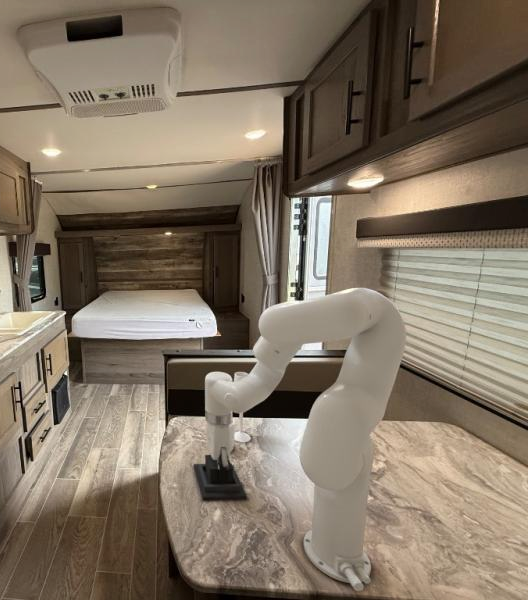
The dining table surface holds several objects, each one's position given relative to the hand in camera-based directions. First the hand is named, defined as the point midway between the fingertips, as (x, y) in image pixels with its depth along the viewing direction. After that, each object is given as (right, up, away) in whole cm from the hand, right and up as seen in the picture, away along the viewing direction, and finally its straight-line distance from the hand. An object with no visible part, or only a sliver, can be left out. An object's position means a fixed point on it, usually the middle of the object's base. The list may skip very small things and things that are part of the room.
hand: (218, 471), depth 96 cm
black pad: (0, -1, 0) cm, 1 cm away
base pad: (0, -3, +1) cm, 3 cm away
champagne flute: (+15, 0, +23) cm, 27 cm away
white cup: (+6, -1, +17) cm, 18 cm away
